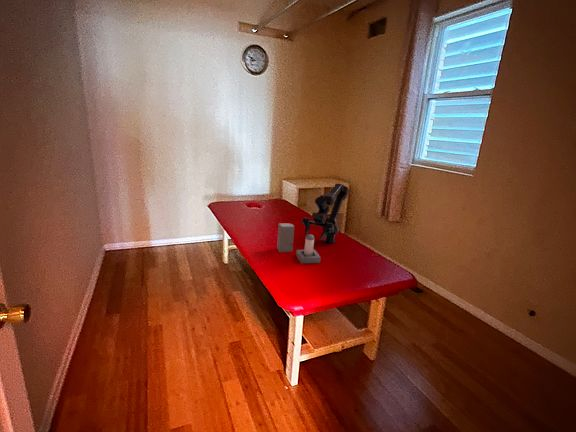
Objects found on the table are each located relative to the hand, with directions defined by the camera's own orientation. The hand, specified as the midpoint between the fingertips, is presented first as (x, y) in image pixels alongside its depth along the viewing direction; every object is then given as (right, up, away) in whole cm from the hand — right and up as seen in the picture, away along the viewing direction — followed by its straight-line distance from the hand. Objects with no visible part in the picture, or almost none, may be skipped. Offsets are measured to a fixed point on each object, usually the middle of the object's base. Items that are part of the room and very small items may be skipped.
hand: (312, 237), depth 178 cm
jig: (-3, -12, 0) cm, 12 cm away
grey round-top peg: (-3, -11, 0) cm, 11 cm away
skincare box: (-16, -8, +10) cm, 21 cm away
